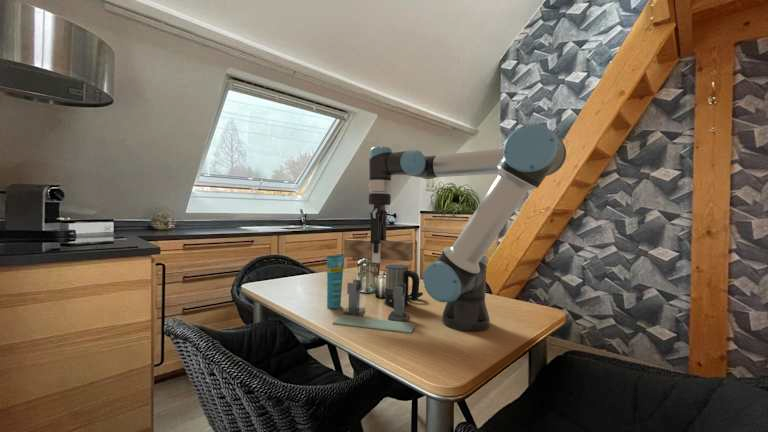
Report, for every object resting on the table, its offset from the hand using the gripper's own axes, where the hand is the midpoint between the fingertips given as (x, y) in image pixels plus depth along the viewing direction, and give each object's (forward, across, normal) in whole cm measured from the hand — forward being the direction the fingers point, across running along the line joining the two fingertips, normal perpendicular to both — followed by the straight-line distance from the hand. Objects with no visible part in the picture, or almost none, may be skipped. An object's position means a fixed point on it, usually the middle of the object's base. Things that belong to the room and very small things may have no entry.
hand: (378, 261), depth 116 cm
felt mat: (+19, +9, +2) cm, 21 cm away
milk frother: (+19, -20, +6) cm, 28 cm away
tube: (+19, -4, -17) cm, 26 cm away
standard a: (+19, 0, +8) cm, 20 cm away
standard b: (+19, 0, -8) cm, 20 cm away
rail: (-1, 0, 0) cm, 1 cm away
